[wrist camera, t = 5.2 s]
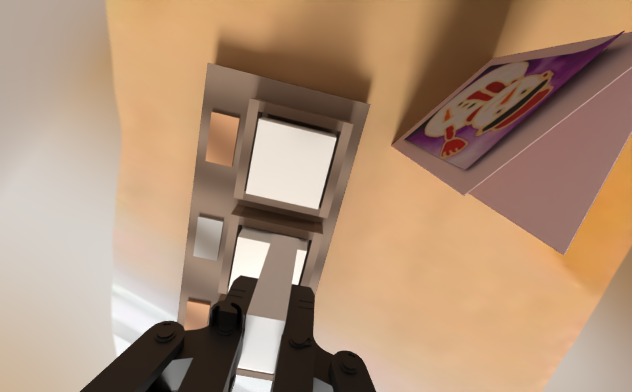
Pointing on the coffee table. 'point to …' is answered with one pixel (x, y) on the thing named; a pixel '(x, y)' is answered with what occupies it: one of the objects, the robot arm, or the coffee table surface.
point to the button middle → (260, 253)
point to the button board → (232, 177)
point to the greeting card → (533, 133)
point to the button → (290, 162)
